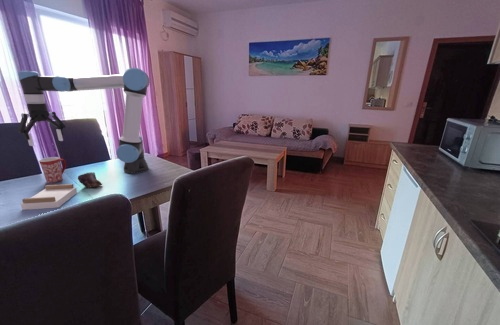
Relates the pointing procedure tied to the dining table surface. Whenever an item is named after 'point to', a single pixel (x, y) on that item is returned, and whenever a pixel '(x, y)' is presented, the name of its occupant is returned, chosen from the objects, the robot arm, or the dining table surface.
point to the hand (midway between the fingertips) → (47, 143)
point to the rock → (89, 180)
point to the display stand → (50, 197)
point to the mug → (52, 169)
